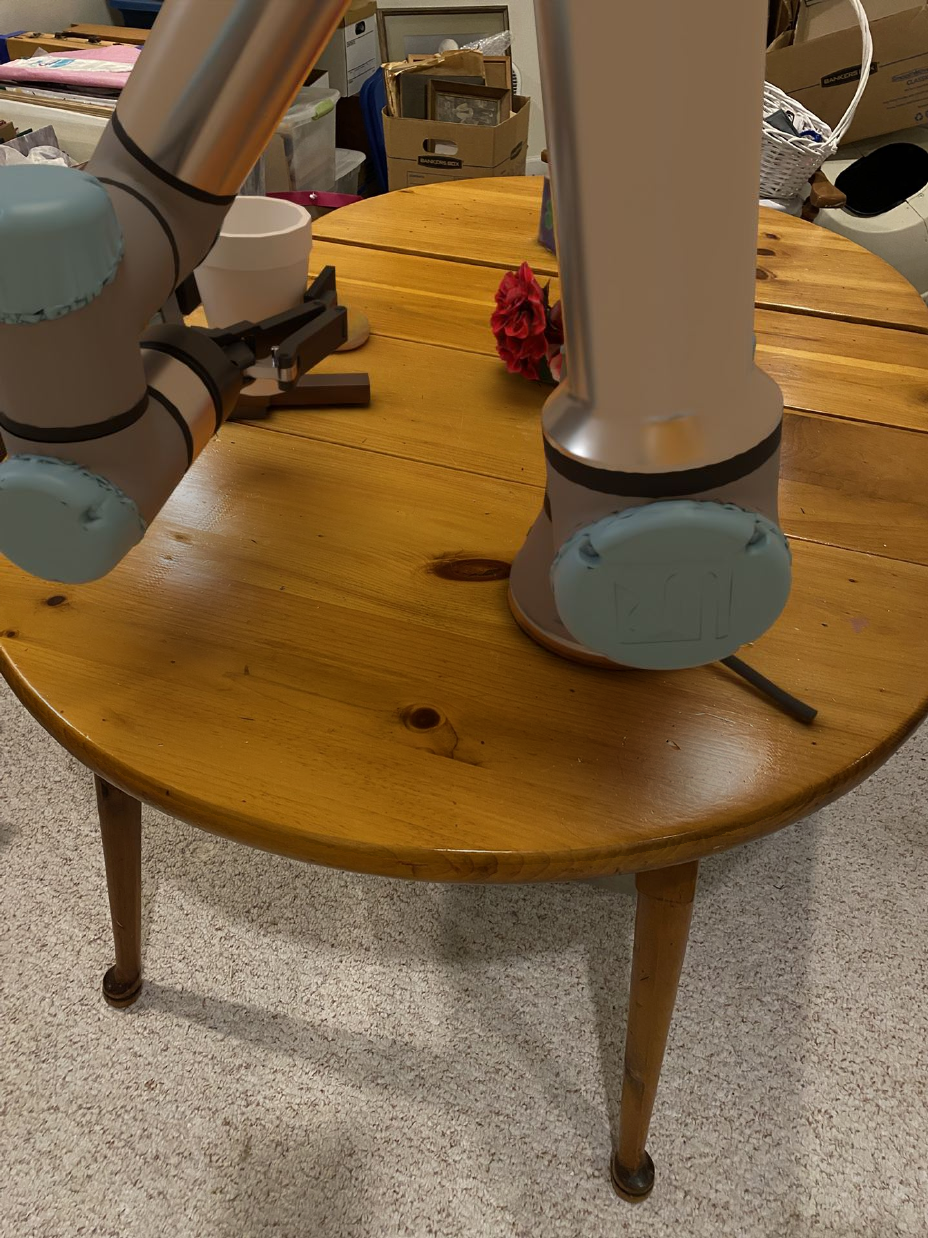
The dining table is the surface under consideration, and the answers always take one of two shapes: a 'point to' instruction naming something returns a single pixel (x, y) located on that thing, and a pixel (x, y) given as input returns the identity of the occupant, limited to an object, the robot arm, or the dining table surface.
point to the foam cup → (256, 267)
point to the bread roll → (355, 327)
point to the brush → (307, 394)
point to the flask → (547, 219)
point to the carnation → (528, 327)
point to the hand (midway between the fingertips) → (271, 275)
